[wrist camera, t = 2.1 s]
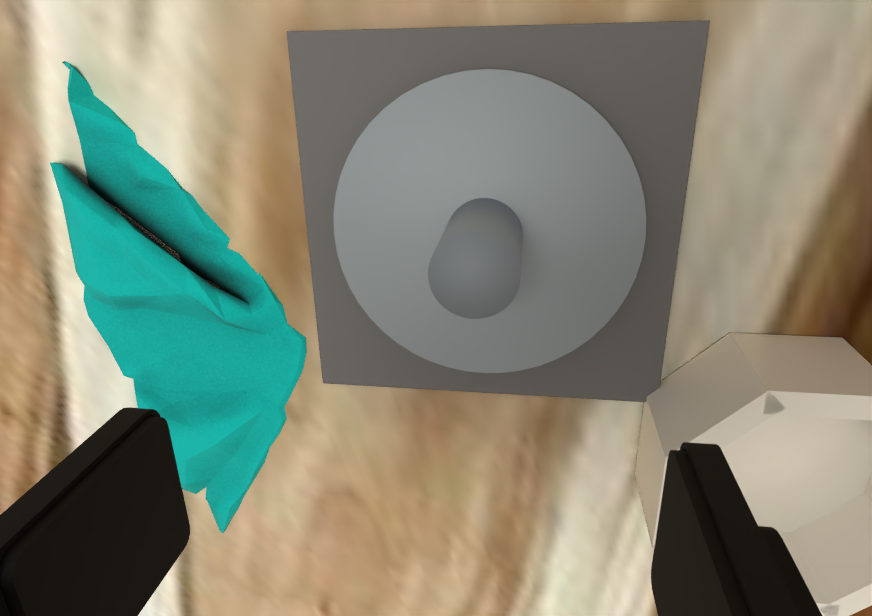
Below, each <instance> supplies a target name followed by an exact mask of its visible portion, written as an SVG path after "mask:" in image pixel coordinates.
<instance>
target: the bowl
mask: <svg viewBox="0 0 872 616" xmlns="http://www.w3.org/2000/svg"><path fill="white" fill-rule="evenodd" d="M683 442H689V443H705V444H717V445H719V447H720V448H721V450H722V452H723V454H724V456H725V458H726V460H727V462H728V464H729V466H730V469H731V471H732V473H733V475H734V477H735V479H736V481H737V483H738V485H739V487H740V489H741V491H742V494H743V496H744V498H745V500H746V502H747V504H748V506H749V508H750V510H751V512H752V514H753V516H754V519H755V521H756V523H757V525H758V526H764V527H773V528H774V529H776V530H777V531H778V533H779V534H780V536H781V537H782V539H783V541H784V543H785V545H786V546H787V548H788V550H789V552H790V554H791V556H792V558H793V560H794V562H795V564H796V566H797V568H798V570H799V572H800V573H801V575H802V577H803V579H804V581H805V583H806V585H807V587H808V589H809V591H810V593H811V595H812V597H813V599H814V600H815V602H816V604H817V606H818V608H819V610H820V612H821V614H822V616H850V615H852V614H854V613H856V612H858V611H860V610H862V609H865V608H867V607H869V606H871V605H872V365H871V364H870V363H869V362H868V361H866V360H865V359H864V358H863V357H862V356H861V355H860V354H859V353H858V352H857V351H856V350H855V349H854V348H853V347H852V346H851V345H850V344H849V343H848V342H847V341H846V340H844V339H843V338H842V337H841V338H840V337H816V336H792V335H769V334H745V333H729V334H727V335H726V336H724V337H723V338H722V339H720V340H719V341H717V342H716V343H714V344H713V345H712V346H710V347H709V348H707V349H706V350H705V351H703V352H702V353H700V354H699V355H697V356H696V357H695V358H693V359H692V360H690V361H689V362H688V363H686V364H685V365H683V366H682V367H680V368H679V369H678V370H676V371H675V372H673V373H672V374H671V375H669V376H668V377H666V378H665V379H663V380H662V381H661V382H660V386H659V388H658V389H657V390H656V391H654V392H653V393H651V394H650V395H648V396H647V397H646V402H644V406H643V414H642V422H641V430H640V437H639V445H638V453H637V461H636V469H635V475H636V480H637V484H638V488H639V493H640V497H641V501H642V506H643V510H644V514H645V519H646V523H647V527H648V532H649V536H650V540H651V545H652V547H653V548H655V541H656V534H657V528H658V521H659V514H660V507H661V501H662V494H663V487H664V481H665V474H666V467H667V460H668V455H669V452H670V450H680V447H681V444H682V443H683Z"/></svg>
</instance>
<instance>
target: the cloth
mask: <svg viewBox="0 0 872 616" xmlns="http://www.w3.org/2000/svg"><path fill="white" fill-rule="evenodd" d="M63 63H64V64H65V65H66V66H67V67H68V68H69V69H70V74H69V82H68V100H69V104H70V107H71V111H72V114H73V118H74V121H75V125H76V128H77V132H78V135H79V139H80V143H81V148H82V153H83V158H84V163H85V168H86V173H87V178H88V183H89V187H88V186H87V185H86V184H85V183H84V182H83V181H81V180H80V179H79V178H78V177H77V176H76V175H74V174H73V173H72V172H71V171H70V170H69V169H67V168H66V167H65V166H64V165H63V164H57V163H50V164H51V167H52V171H53V174H54V177H55V180H56V184H57V187H58V190H59V193H60V197H61V200H62V203H63V208H64V213H65V218H66V223H67V228H68V233H69V238H70V243H71V248H72V253H73V258H74V263H75V269H76V272H77V274H78V276H79V278H80V279H81V281H82V282H83V284H84V285H85V287H84V302H85V306H86V309H87V313H88V316H89V317H90V319H91V321H92V322H93V324H94V325H95V327H96V328H97V330H98V331H99V333H100V334H101V336H102V337H103V339H104V340H105V342H106V343H107V345H108V346H109V348H110V350H111V352H112V354H113V356H114V358H115V360H116V362H117V363H118V365H119V367H120V369H121V371H122V373H123V375H124V376H126V377H130V378H133V379H134V386H135V394H136V399H137V405H138V408H143V409H154V410H156V411H158V413H159V414H160V416H161V417H163V418H165V419H166V421H167V423H168V426H169V431H170V436H171V440H172V445H173V450H174V454H175V459H176V464H177V469H178V473H179V478H180V483H181V487H182V489H184V490H187V491H190V492H192V493H195V494H197V493H198V492H199V491H201V490H202V489H204V488H205V487H207V489H206V500H207V501H208V503H209V506H210V508H211V511H212V513H213V515H214V518H215V520H216V523H217V525H218V527H219V530H220V531H221V532H222V533H224V531H225V529H226V527H227V526H228V524H229V522H230V520H231V518H232V516H233V515H234V513H235V512H236V511H237V509H238V508H239V506H240V504H241V502H242V499H243V497H244V495H245V494H246V492H247V490H248V489H249V487H250V485H251V484H252V482H253V481H254V479H255V477H256V476H257V474H258V472H259V470H260V469H261V467H262V465H263V464H264V462H265V459H266V457H267V454H268V451H269V448H270V446H271V445H272V443H273V442H274V441H275V439H276V438H277V436H278V435H279V433H280V431H281V429H282V427H283V425H284V423H285V421H286V419H287V418H286V413H285V408H284V407H285V405H286V403H287V401H288V399H289V397H290V395H291V393H292V391H293V389H294V387H295V385H296V383H297V381H298V379H299V377H300V375H301V373H302V370H303V367H304V362H305V357H306V352H307V350H306V338H305V337H304V336H303V335H301V334H300V333H299V332H298V331H296V330H295V329H294V328H292V327H291V326H290V325H289V324H287V320H286V316H285V312H284V308H283V305H282V304H281V302H280V301H279V300H278V298H277V297H276V295H275V294H274V293H273V291H272V290H271V288H270V287H269V286H268V284H267V283H266V281H265V280H264V278H263V277H262V276H261V274H260V273H259V275H258V274H257V273H256V272H255V271H254V269H253V268H252V267H251V266H250V265H249V264H248V263H247V262H246V260H245V259H244V258H243V257H242V256H241V255H240V254H239V253H237V252H235V251H233V250H230V249H228V248H227V247H228V243H229V239H230V238H229V237H228V236H227V235H226V234H225V233H224V232H223V231H222V230H221V229H220V228H219V227H218V226H217V224H216V223H215V222H214V221H213V220H212V219H211V218H210V217H209V216H208V215H207V214H206V213H205V212H204V211H203V209H202V208H201V207H200V205H199V204H198V203H197V201H196V200H195V199H194V197H193V196H192V195H191V194H189V193H188V192H186V191H185V190H183V189H182V188H180V187H179V185H178V184H177V182H176V181H175V180H174V178H173V177H172V175H171V174H170V172H169V171H168V170H167V169H166V168H165V167H164V166H163V165H162V164H161V163H159V162H158V161H157V160H156V159H155V158H153V157H152V156H151V155H150V154H149V153H148V152H146V151H145V150H144V149H143V148H142V147H140V146H139V145H138V144H137V140H136V135H135V133H134V132H133V131H132V130H131V129H130V128H129V127H128V126H127V125H126V124H125V123H124V122H123V121H122V120H121V119H120V118H119V117H118V116H117V115H116V114H115V113H114V112H113V111H112V110H111V109H110V108H109V107H108V106H107V105H105V104H104V103H103V102H102V101H100V100H99V99H98V98H97V97H95V96H94V94H93V91H92V89H91V87H90V85H89V83H88V82H87V81H86V80H85V79H84V78H83V77H82V76H81V75H80V74H79V73H78V72H77V71H76V70H75V69H74V68H73V67H72V66H71V65H70V64H69V63H68V62H65V61H64V62H63ZM102 198H103V199H102ZM105 200H106V201H107V202H109V203H111V204H112V205H114V206H115V207H117V208H119V209H120V210H121V211H123V212H124V213H125V214H127V215H128V216H129V217H131V218H132V219H133V220H135V221H136V222H137V223H139V224H140V225H141V226H142V227H144V228H145V229H146V230H148V231H149V232H150V233H152V234H153V235H154V236H156V237H157V238H158V239H160V240H161V241H162V242H163V243H165V244H166V245H167V246H169V247H170V248H171V249H173V250H174V251H175V252H177V253H178V254H179V256H180V259H181V261H182V263H181V262H179V261H178V260H177V259H176V258H175V257H174V256H173V255H171V254H170V253H169V252H168V251H167V250H166V249H165V248H163V247H162V246H161V245H160V244H158V243H157V242H156V241H155V240H153V239H152V238H151V237H149V236H148V235H147V234H146V233H144V232H143V231H142V230H141V229H139V228H138V227H137V226H135V225H134V224H133V223H132V222H130V221H129V220H128V219H127V218H125V217H124V216H123V215H121V214H120V213H119V212H118V211H116V210H115V209H114V208H113V207H112V206H111V205H109V204H108V203H107V202H106V201H105ZM204 279H206V280H209V281H211V282H214V283H215V284H216V285H218V286H219V287H220V288H221V289H223V290H224V291H223V290H220V289H218V288H216V287H214V286H213V285H211V284H210V283H208V282H207V281H206V280H204Z"/></svg>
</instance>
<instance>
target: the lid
mask: <svg viewBox="0 0 872 616" xmlns="http://www.w3.org/2000/svg"><path fill="white" fill-rule="evenodd" d="M333 216H334V237H335V243H336V250H337V254H338V258H339V261H340V265H341V268H342V271H343V274H344V276H345V278H346V280H347V283H348V285H349V287H350V289H351V291H352V293H353V294H354V296H355V298H356V299H357V301H358V303H359V304H360V306H361V307H362V308H363V310H364V311H365V312H366V313H367V315H368V316H369V317H370V319H371V320H372V321H373V322H374V323H375V324H376V325H377V326H378V327H379V328H380V329H381V330H382V331H383V332H384V333H385V334H387V335H388V336H389V337H390V338H392V339H393V340H394V341H395V342H397V343H398V344H399V345H401V346H403V347H404V348H406V349H407V350H409V351H410V352H412V353H414V354H416V355H418V356H420V357H422V358H424V359H426V360H428V361H431V362H434V363H437V364H439V365H442V366H445V367H449V368H453V369H458V370H462V371H468V372H478V373H505V372H513V371H521V370H525V369H529V368H533V367H537V366H540V365H543V364H546V363H548V362H551V361H554V360H556V359H558V358H560V357H562V356H564V355H566V354H568V353H570V352H572V351H573V350H575V349H576V348H578V347H579V346H581V345H582V344H584V343H585V342H586V341H588V340H589V339H590V338H592V337H593V336H594V335H595V334H596V333H597V332H598V331H599V330H601V329H602V328H603V327H604V326H605V324H606V323H607V322H608V321H609V320H610V319H611V318H612V316H613V315H614V314H615V313H616V312H617V310H618V309H619V307H620V306H621V304H622V303H623V301H624V300H625V298H626V297H627V295H628V293H629V291H630V289H631V287H632V285H633V282H634V280H635V278H636V275H637V272H638V269H639V266H640V263H641V260H642V256H643V250H644V245H645V239H646V209H645V199H644V194H643V190H642V186H641V182H640V178H639V175H638V172H637V170H636V167H635V165H634V162H633V160H632V158H631V156H630V154H629V152H628V150H627V149H626V147H625V145H624V144H623V142H622V140H621V138H620V137H619V136H618V135H617V133H616V132H615V131H614V130H613V128H612V127H611V126H610V124H609V123H608V122H607V121H606V120H605V119H604V118H603V117H602V116H601V115H600V114H599V113H598V112H597V111H596V110H595V109H594V108H593V107H592V106H591V105H590V104H588V103H587V102H586V101H584V100H583V99H581V98H580V97H578V96H577V95H576V94H574V93H573V92H571V91H570V90H568V89H566V88H564V87H562V86H560V85H558V84H556V83H554V82H552V81H550V80H547V79H544V78H541V77H538V76H535V75H532V74H528V73H523V72H518V71H513V70H504V69H477V70H466V71H461V72H457V73H453V74H448V75H444V76H441V77H439V78H436V79H433V80H431V81H428V82H426V83H423V84H421V85H419V86H417V87H415V88H413V89H412V90H410V91H408V92H406V93H404V94H403V95H401V96H400V97H398V98H397V99H396V100H394V101H393V102H392V103H391V104H389V105H388V106H387V107H385V108H384V109H383V110H382V111H381V112H380V113H379V114H378V115H377V116H376V117H375V118H374V119H373V120H372V121H371V122H370V123H369V125H368V126H367V127H366V129H365V130H364V131H363V133H362V134H361V135H360V136H359V138H358V139H357V141H356V143H355V144H354V146H353V148H352V150H351V152H350V153H349V155H348V157H347V160H346V162H345V165H344V167H343V170H342V172H341V175H340V178H339V183H338V187H337V191H336V195H335V204H334V214H333Z"/></svg>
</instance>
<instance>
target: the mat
mask: <svg viewBox="0 0 872 616" xmlns="http://www.w3.org/2000/svg"><path fill="white" fill-rule="evenodd" d="M709 23H710V21H671V22H633V23H594V24H556V25H517V26H479V27H440V28H402V29H363V30H325V31H287V40H288V49H289V59H290V69H291V78H292V88H293V98H294V107H295V117H296V127H297V136H298V146H299V156H300V165H301V175H302V185H303V194H304V204H305V214H306V223H307V233H308V243H309V252H310V262H311V272H312V281H313V291H314V301H315V310H316V320H317V330H318V339H319V349H320V359H321V368H322V378H323V383H328V384H346V385H363V386H380V387H397V388H414V389H431V390H449V391H466V392H483V393H500V394H517V395H534V396H552V397H569V398H586V399H603V400H620V401H637V402H646V397H647V396H648V395H650V394H651V393H653V392H654V391H656V390H657V389H658V388H659V386H660V379H661V372H662V364H663V357H664V350H665V343H666V335H667V328H668V321H669V313H670V306H671V299H672V292H673V284H674V277H675V270H676V263H677V255H678V248H679V241H680V233H681V226H682V219H683V212H684V204H685V197H686V190H687V183H688V175H689V168H690V161H691V153H692V146H693V139H694V132H695V124H696V117H697V110H698V103H699V95H700V88H701V81H702V73H703V66H704V59H705V52H706V44H707V37H708V30H709ZM477 69H504V70H513V71H518V72H523V73H528V74H532V75H535V76H538V77H541V78H544V79H547V80H550V81H552V82H554V83H556V84H558V85H560V86H562V87H564V88H566V89H568V90H570V91H571V92H573V93H574V94H576V95H577V96H578V97H580V98H581V99H583V100H584V101H586V102H587V103H588V104H590V105H591V106H592V107H593V108H594V109H595V110H596V111H597V112H598V113H599V114H600V115H601V116H602V117H603V118H604V119H605V120H606V121H607V122H608V123H609V124H610V126H611V127H612V128H613V130H614V131H615V132H616V133H617V135H618V136H619V137H620V138H621V140H622V142H623V144H624V145H625V147H626V149H627V150H628V152H629V154H630V156H631V158H632V160H633V162H634V165H635V167H636V170H637V172H638V175H639V178H640V182H641V186H642V190H643V194H644V199H645V209H646V239H645V245H644V250H643V256H642V260H641V263H640V266H639V269H638V272H637V275H636V278H635V280H634V282H633V285H632V287H631V289H630V291H629V293H628V295H627V297H626V298H625V300H624V301H623V303H622V304H621V306H620V307H619V309H618V310H617V312H616V313H615V314H614V315H613V316H612V318H611V319H610V320H609V321H608V322H607V323H606V324H605V326H604V327H603V328H602V329H601V330H599V331H598V332H597V333H596V334H595V335H594V336H593V337H592V338H590V339H589V340H588V341H586V342H585V343H584V344H582V345H581V346H579V347H578V348H576V349H575V350H573V351H572V352H570V353H568V354H566V355H564V356H562V357H560V358H558V359H556V360H554V361H551V362H548V363H546V364H543V365H540V366H537V367H533V368H529V369H525V370H521V371H513V372H505V373H478V372H468V371H462V370H458V369H453V368H449V367H445V366H442V365H439V364H437V363H434V362H431V361H428V360H426V359H424V358H422V357H420V356H418V355H416V354H414V353H412V352H410V351H409V350H407V349H406V348H404V347H403V346H401V345H399V344H398V343H397V342H395V341H394V340H393V339H392V338H390V337H389V336H388V335H387V334H385V333H384V332H383V331H382V330H381V329H380V328H379V327H378V326H377V325H376V324H375V323H374V322H373V321H372V320H371V319H370V317H369V316H368V315H367V313H366V312H365V311H364V310H363V308H362V307H361V306H360V304H359V303H358V301H357V299H356V298H355V296H354V294H353V293H352V291H351V289H350V287H349V285H348V283H347V280H346V278H345V276H344V274H343V271H342V268H341V265H340V261H339V258H338V254H337V250H336V243H335V237H334V216H333V214H334V204H335V195H336V191H337V187H338V183H339V178H340V175H341V172H342V170H343V167H344V165H345V162H346V160H347V157H348V155H349V153H350V152H351V150H352V148H353V146H354V144H355V143H356V141H357V139H358V138H359V136H360V135H361V134H362V133H363V131H364V130H365V129H366V127H367V126H368V125H369V123H370V122H371V121H372V120H373V119H374V118H375V117H376V116H377V115H378V114H379V113H380V112H381V111H382V110H383V109H384V108H385V107H387V106H388V105H389V104H391V103H392V102H393V101H394V100H396V99H397V98H398V97H400V96H401V95H403V94H404V93H406V92H408V91H410V90H412V89H413V88H415V87H417V86H419V85H421V84H423V83H426V82H428V81H431V80H433V79H436V78H439V77H441V76H444V75H448V74H453V73H457V72H461V71H466V70H477Z"/></svg>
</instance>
